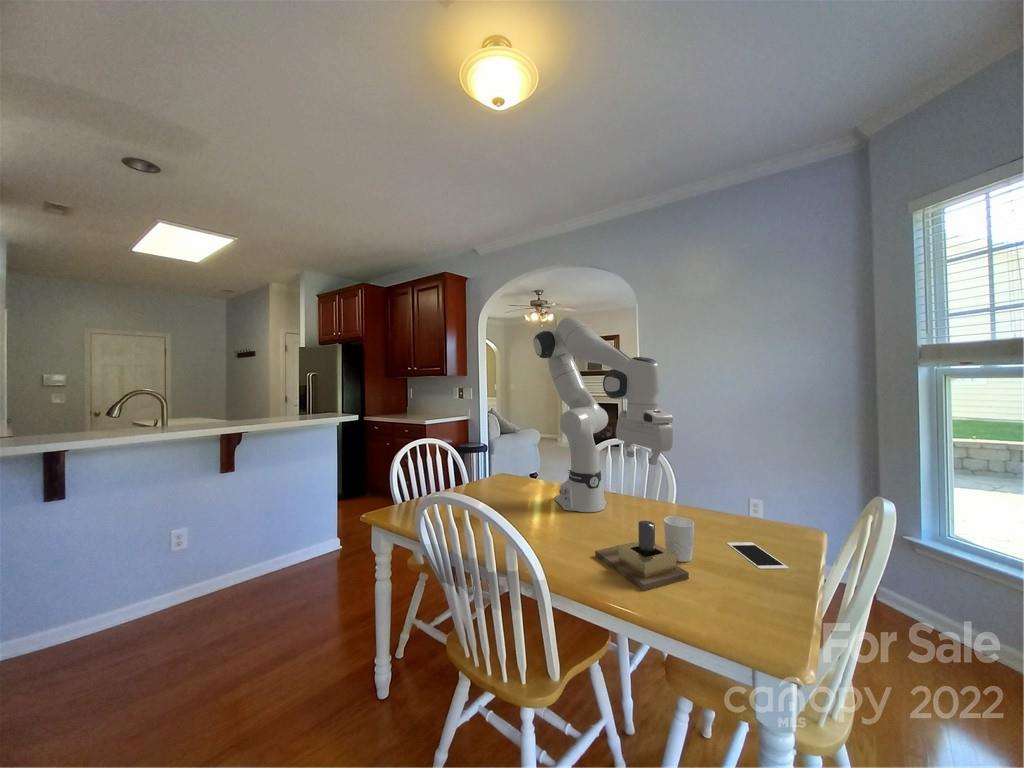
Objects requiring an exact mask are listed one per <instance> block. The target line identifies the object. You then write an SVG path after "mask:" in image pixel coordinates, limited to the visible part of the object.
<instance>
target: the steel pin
mask: <svg viewBox="0 0 1024 768" xmlns="http://www.w3.org/2000/svg"><path fill="white" fill-rule="evenodd" d="M655 536H656V524H655V523H654V522H653V521H649V520H640V521H638V542H639V554H640V555H642V556H644V557H645V558H646V557H650V556H654V555H655V544H656V537H655Z"/></svg>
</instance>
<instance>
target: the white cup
mask: <svg viewBox="0 0 1024 768" xmlns="http://www.w3.org/2000/svg"><path fill="white" fill-rule="evenodd" d="M663 530H664V531H663V532H664V545H665V549H666V550H668V551H670V552H672V553H674V554H676V562H680V563H687V562H688V563H689V562H691V561H692V560H693V549H694V539H695V535H694V534H695V521H693V519H690V518H687V517H683V516H676V515H675V516H666V517H665V518H663Z"/></svg>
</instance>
